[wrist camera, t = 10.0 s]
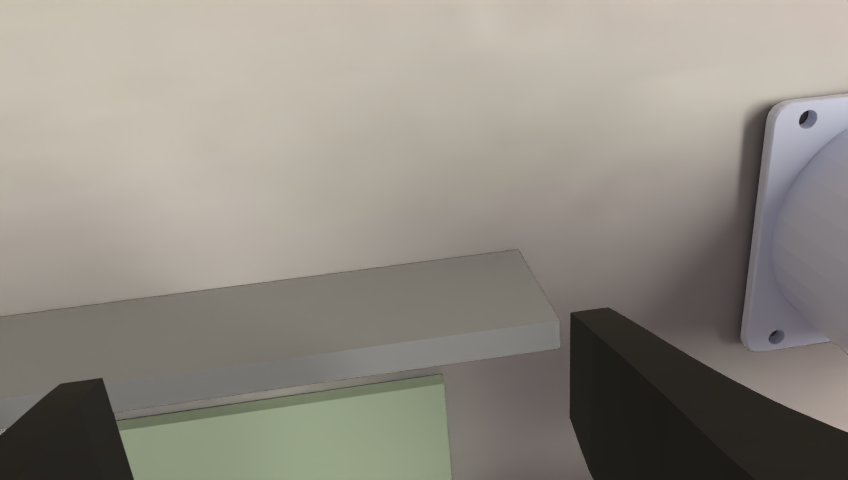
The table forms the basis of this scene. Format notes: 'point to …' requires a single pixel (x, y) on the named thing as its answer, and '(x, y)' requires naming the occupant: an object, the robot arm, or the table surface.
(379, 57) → the table surface
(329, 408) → the green mat
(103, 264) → the table surface
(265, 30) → the table surface
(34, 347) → the grey wall
